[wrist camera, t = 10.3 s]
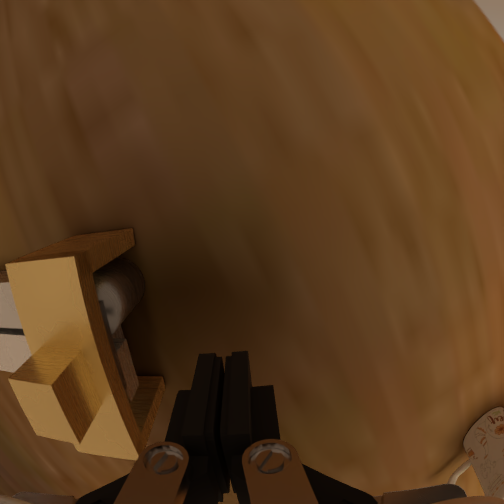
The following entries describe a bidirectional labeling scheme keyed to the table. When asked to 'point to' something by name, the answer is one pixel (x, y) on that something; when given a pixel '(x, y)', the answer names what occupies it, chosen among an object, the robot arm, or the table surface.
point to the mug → (486, 453)
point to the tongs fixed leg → (107, 288)
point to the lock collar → (77, 351)
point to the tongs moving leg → (17, 352)
